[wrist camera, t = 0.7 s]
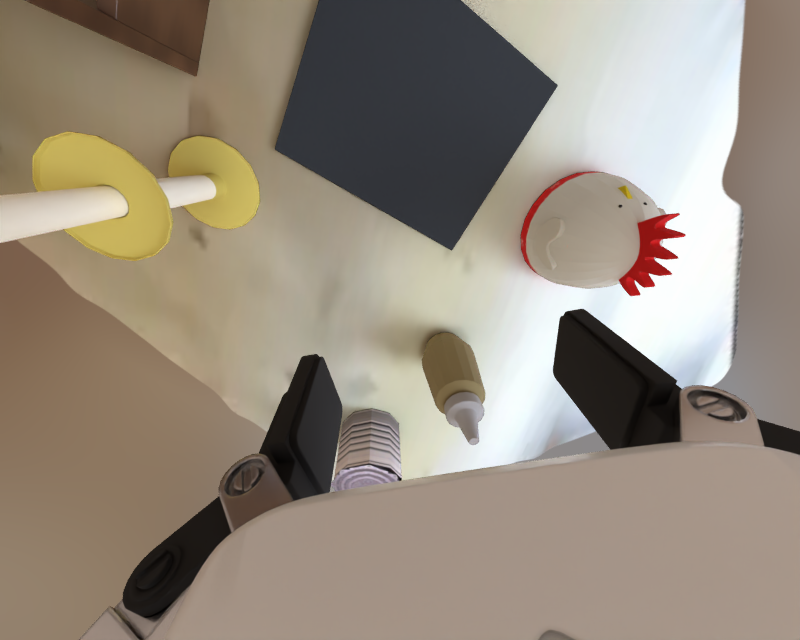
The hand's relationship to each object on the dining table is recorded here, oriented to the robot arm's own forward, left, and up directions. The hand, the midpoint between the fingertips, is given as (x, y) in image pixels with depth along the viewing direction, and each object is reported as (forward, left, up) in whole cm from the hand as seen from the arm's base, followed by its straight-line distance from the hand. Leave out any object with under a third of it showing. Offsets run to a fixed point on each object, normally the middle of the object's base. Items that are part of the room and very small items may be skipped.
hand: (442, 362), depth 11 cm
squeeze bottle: (+14, +16, -29) cm, 36 cm away
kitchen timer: (-10, +21, -29) cm, 37 cm away
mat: (-10, -4, -29) cm, 31 cm away
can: (+37, +14, -29) cm, 49 cm away
